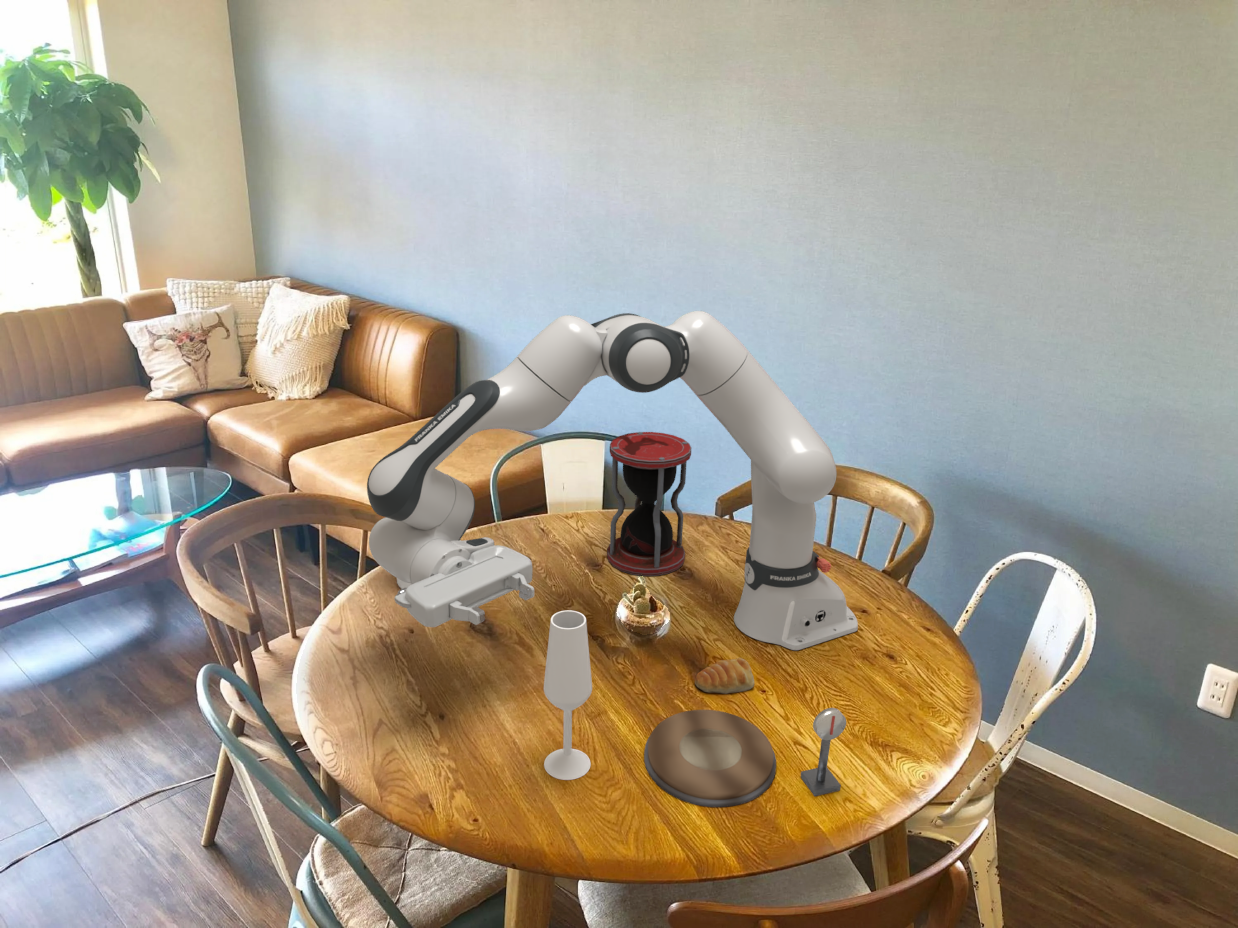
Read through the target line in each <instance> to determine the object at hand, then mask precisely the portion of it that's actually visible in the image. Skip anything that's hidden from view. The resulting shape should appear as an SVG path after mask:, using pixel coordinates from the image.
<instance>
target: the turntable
mask: <svg viewBox="0 0 1238 928" xmlns="http://www.w3.org/2000/svg"><path fill="white" fill-rule="evenodd" d="M643 753H644V757H643V759H644V764H645V768H646V771H647V774H648V775H649V777H650V778H651V779H652V781H653V782H654V783H655V784H656V785H657V786H658V787H659V788H660V789H662V791H664V792H665V793H667V794H669V795H671V796H672V797H674V798H676V799H678V800H680V801H682V802H685V803H689V804H691V805H692V804H693V805H696V806H699V807H700V806H701V807H708V808H727V807H728V808H729V807H734V806H739V805H742V804H746V803H748V802H750V801H751V802H752V801H753V800H755V799H757V798H758V797H761V795H762V794H763V793H765V792H766V791H767V790H768V789H769V788H770V787H771V785H772V783H773V781H774V779H775V776H776V770H777V759H776V754H775V752H774V749H773V746H772V744H771V742H770V740H769V739H768V736H766V734H764V732H763V731H762V730H761V729H760V728H759V727H758V726H757V725H754V724H753V723H752V722H750V721H749V720H747V719H745V718H743V717H741V716H738V715H735V714H733V713H729V712H727V711H726V712H725V711H720V710H714V709H693V710H687V711H681V712H678V713H675V714H673V715H671V716H668V717H666V718H665V719H663V720H662V721H660V722H659V724H657V725H656V727H655V728H654V729H653V730H652V732H651V733H650V735H649V736H648V739H646V743H645V746H644V752H643Z"/></svg>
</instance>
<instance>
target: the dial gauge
mask: <svg viewBox="0 0 1238 928" xmlns="http://www.w3.org/2000/svg"><path fill="white" fill-rule="evenodd" d="M846 726H847V719H846V717H845V715H844V714H843V713H842V712H841V711H840V710H839V709H838V708H835V707H829V708H824V709H823V710H821V711H820V712H819V713H818V714H817V715H816V717H814V719H813V724H812V728H813V731H814V732H815V733H816V735H817V736H818V737H819V738H820V739H821V742H820V749H819V750H820V751H819V756H818V757H819V758H818V763H817V767H815V768H811V769H806V770H803V771H800V778H801V780H802V782H803V783H804V784H805V785H806V787H807V789H809V790H810V792H811V793H812V795H813V796H814V797H818V796H822V795H828V794H831V793H835V792H839V791H841V788H842V785H841V783H840V782H839V780H838V779H837V778H836V777H835V776H834V774H833V773H832V771H831V770H830V769H829V767H828V760H829V754H830V746H831V741H832V740H834V739H836V738H838V737H839V736H840V735H841V734H842V733H843V732H844V730H845V728H846Z"/></svg>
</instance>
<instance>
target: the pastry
mask: <svg viewBox="0 0 1238 928" xmlns="http://www.w3.org/2000/svg"><path fill="white" fill-rule="evenodd" d="M694 684H695V686H696V687H697V688H698V689H700V690H701V691H703V692H705V693H709V694H711V693H715V694H722V695H723V694H724V695H729V694H734V693H740V692H746V691H750V690H751V689H752V688H753V687H754V686H755V679H754V675H753V673H752V668H751V666H750V663H749V662H748V661H747V660H746V659H744V658H743V657H740V656H739V657H738V658H735V659H721V660H718V661H717V662H715V663H713V664H711V665H710V666H707V667H705V668H702V670H700V671H699V672H697V674H696V675H695V680H694Z"/></svg>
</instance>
